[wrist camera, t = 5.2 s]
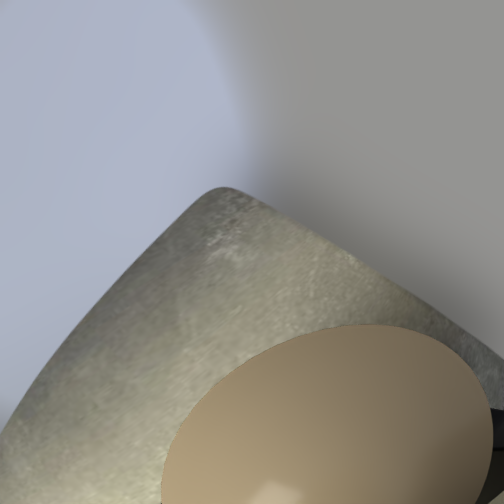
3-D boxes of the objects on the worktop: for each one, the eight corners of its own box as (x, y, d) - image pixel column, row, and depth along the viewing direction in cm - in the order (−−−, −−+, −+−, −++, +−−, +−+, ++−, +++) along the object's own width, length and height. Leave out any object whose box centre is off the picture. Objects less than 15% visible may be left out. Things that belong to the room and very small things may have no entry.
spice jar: (274, 479, 11) (281, 627, 1) (224, 407, 14) (100, 433, 3) (356, 428, 12) (519, 464, 2) (305, 358, 15) (392, 259, 4)
